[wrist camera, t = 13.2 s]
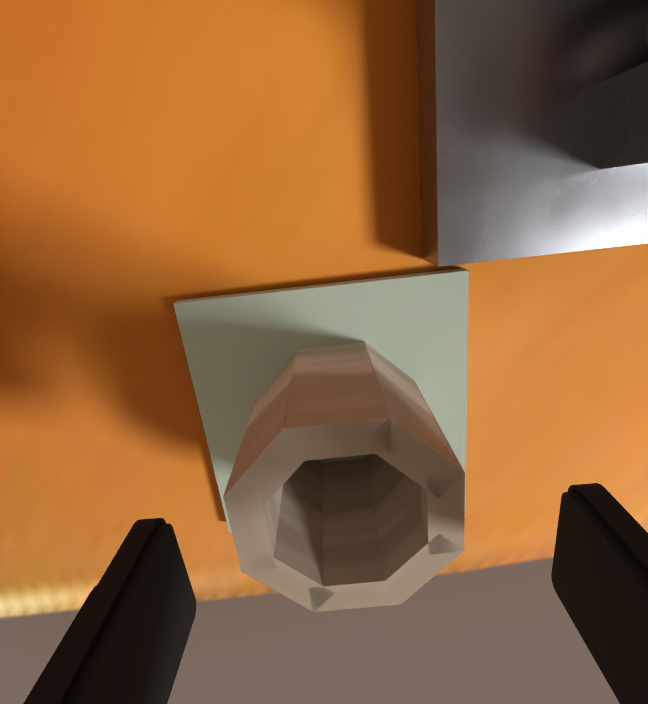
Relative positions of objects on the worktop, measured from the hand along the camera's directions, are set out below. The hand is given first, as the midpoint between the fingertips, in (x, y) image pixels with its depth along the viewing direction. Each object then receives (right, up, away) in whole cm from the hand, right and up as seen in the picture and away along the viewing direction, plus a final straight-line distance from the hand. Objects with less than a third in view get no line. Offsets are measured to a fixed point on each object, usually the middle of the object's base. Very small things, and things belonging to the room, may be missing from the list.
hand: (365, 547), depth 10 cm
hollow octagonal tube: (0, +2, +7) cm, 7 cm away
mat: (-1, +2, +8) cm, 8 cm away
